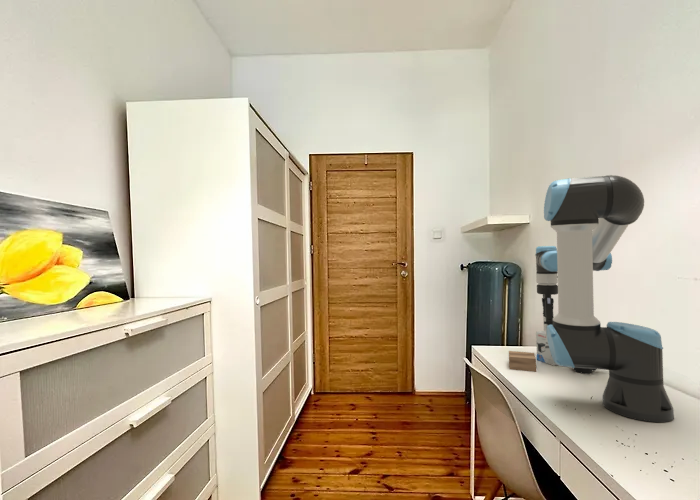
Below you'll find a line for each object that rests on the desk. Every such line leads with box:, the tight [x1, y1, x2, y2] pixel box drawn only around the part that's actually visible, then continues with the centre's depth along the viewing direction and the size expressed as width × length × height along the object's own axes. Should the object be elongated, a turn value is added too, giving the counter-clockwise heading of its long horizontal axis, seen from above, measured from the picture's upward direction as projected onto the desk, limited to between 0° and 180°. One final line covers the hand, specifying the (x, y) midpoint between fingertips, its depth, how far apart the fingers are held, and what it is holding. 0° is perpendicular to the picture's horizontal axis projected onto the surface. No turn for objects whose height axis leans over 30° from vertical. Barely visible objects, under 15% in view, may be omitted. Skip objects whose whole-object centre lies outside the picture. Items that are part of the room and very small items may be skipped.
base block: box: [508, 350, 537, 373], centre depth 136 cm, size 9×9×5 cm
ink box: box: [535, 330, 559, 366], centre depth 141 cm, size 8×5×12 cm, turn 17°
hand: (548, 336), depth 142 cm, fingers open, 13 cm apart
